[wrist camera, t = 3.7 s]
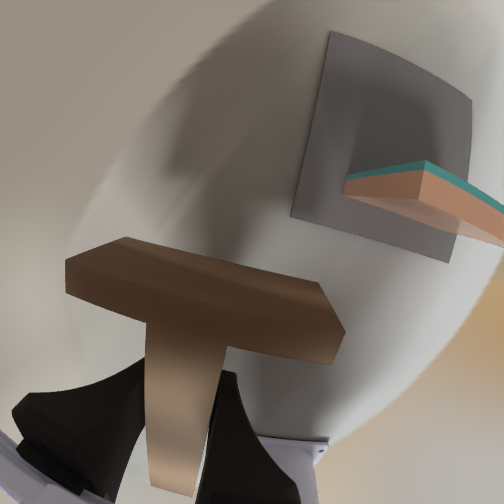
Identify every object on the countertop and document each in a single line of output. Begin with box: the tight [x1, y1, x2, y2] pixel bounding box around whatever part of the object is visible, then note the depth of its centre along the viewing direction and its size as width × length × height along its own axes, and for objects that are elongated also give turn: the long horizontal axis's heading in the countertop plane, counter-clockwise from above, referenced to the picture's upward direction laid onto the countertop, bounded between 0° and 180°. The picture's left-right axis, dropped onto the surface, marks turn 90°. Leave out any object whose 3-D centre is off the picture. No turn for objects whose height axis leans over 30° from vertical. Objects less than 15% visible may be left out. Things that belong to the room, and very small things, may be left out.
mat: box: [290, 31, 472, 263], centre depth 14 cm, size 12×12×1 cm
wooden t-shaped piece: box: [65, 237, 345, 497], centre depth 11 cm, size 13×9×4 cm
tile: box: [342, 160, 504, 248], centre depth 10 cm, size 1×7×8 cm, turn 77°
